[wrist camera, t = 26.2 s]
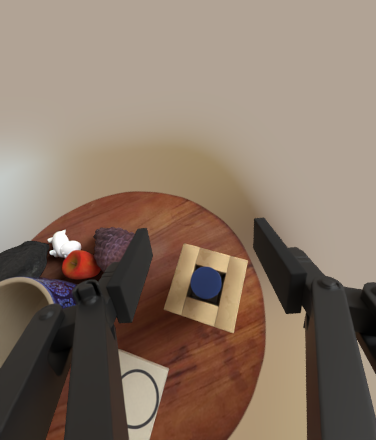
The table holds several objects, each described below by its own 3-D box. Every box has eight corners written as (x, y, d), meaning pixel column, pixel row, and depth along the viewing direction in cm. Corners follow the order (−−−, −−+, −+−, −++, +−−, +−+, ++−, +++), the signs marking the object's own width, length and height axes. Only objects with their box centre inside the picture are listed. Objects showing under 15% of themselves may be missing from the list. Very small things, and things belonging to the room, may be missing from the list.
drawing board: (169, 368, 40) (167, 370, 38) (146, 451, 36) (144, 456, 34) (119, 348, 42) (117, 350, 40) (92, 425, 38) (89, 429, 37)
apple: (86, 287, 46) (57, 283, 40) (84, 263, 49) (57, 255, 43) (109, 275, 46) (83, 269, 39) (105, 251, 49) (80, 242, 42)
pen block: (229, 275, 44) (247, 260, 24) (221, 313, 42) (233, 333, 21) (195, 265, 46) (183, 243, 25) (184, 302, 43) (163, 309, 23)
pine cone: (84, 251, 49) (75, 220, 43) (122, 236, 55) (118, 206, 49) (118, 306, 40) (111, 275, 33) (159, 280, 45) (161, 250, 39)
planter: (75, 266, 48) (21, 255, 34) (119, 317, 43) (77, 328, 30) (18, 323, 45) (-67, 336, 31) (59, 385, 40) (-20, 433, 26)
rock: (66, 242, 51) (42, 224, 46) (60, 285, 40) (29, 267, 36) (12, 275, 50) (-17, 260, 46) (-9, 327, 40) (-50, 315, 35)
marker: (218, 280, 31) (224, 271, 19) (214, 299, 30) (217, 303, 18) (200, 274, 32) (195, 262, 19) (195, 293, 31) (186, 293, 18)
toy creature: (48, 261, 44) (77, 250, 46) (44, 230, 48) (71, 221, 49) (60, 266, 48) (86, 256, 50) (55, 238, 52) (80, 229, 53)
